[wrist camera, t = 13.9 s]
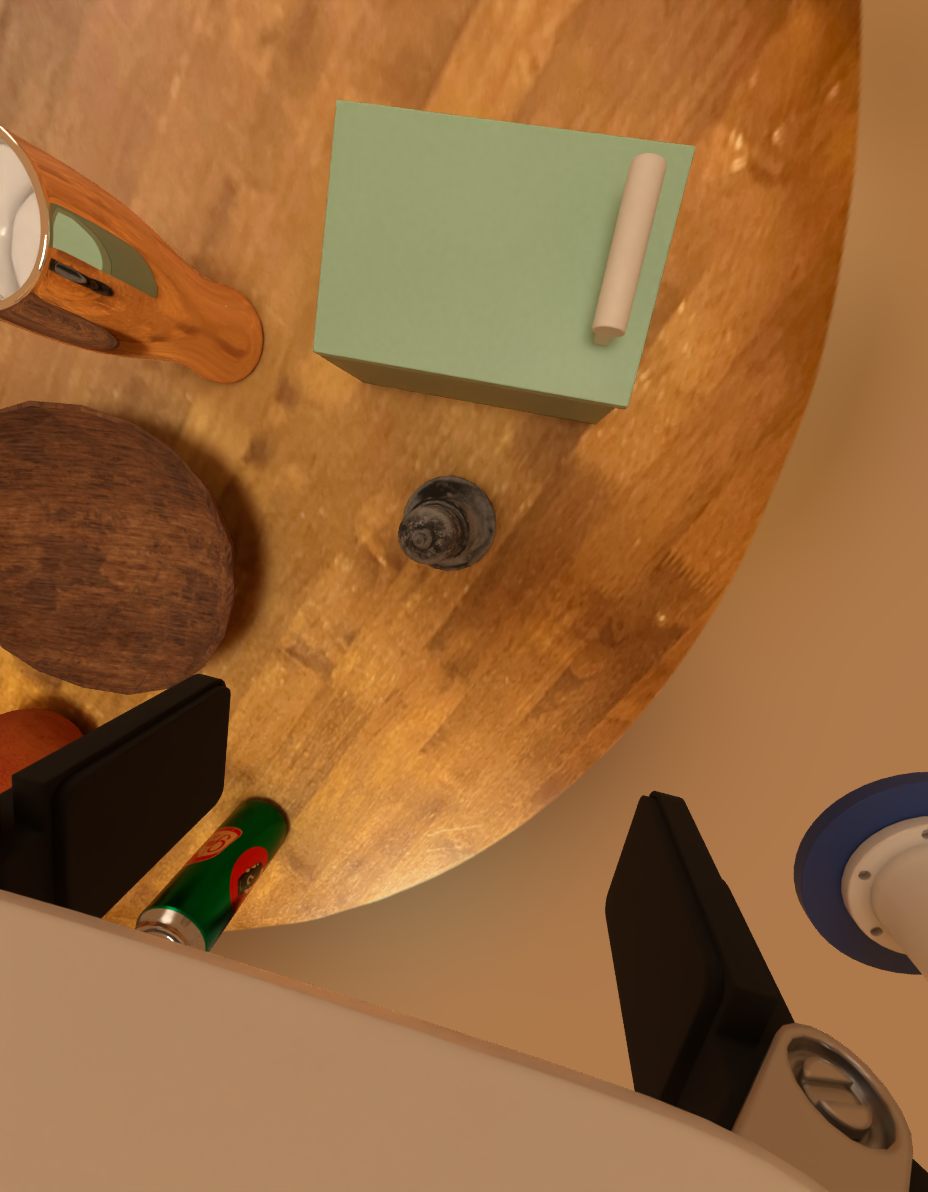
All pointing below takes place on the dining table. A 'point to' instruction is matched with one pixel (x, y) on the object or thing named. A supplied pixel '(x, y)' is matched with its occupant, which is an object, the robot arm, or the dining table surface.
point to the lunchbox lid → (495, 250)
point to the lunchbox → (474, 392)
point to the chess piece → (447, 524)
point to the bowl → (107, 552)
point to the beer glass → (109, 275)
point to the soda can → (216, 878)
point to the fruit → (31, 739)
